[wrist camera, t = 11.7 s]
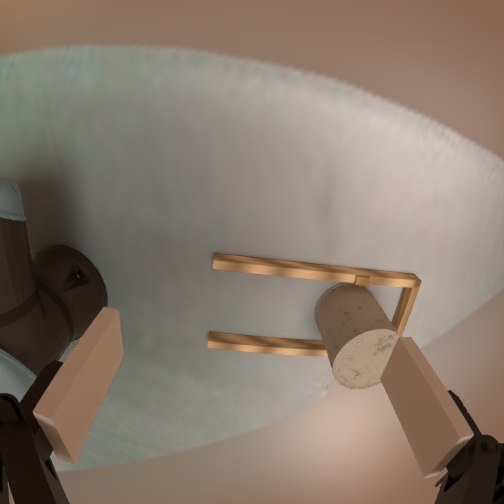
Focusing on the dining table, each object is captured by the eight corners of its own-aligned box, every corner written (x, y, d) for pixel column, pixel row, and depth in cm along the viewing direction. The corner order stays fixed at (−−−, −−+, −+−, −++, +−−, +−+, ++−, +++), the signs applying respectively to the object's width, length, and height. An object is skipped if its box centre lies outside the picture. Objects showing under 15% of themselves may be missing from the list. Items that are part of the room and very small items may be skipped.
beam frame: (209, 337, 47) (207, 350, 44) (215, 253, 42) (213, 262, 39) (387, 347, 49) (394, 358, 46) (414, 274, 44) (423, 282, 41)
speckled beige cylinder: (377, 324, 47) (406, 373, 35) (321, 343, 48) (339, 398, 36) (369, 273, 44) (403, 317, 32) (307, 294, 45) (325, 345, 33)
